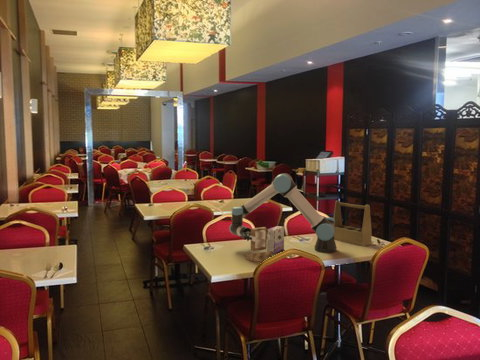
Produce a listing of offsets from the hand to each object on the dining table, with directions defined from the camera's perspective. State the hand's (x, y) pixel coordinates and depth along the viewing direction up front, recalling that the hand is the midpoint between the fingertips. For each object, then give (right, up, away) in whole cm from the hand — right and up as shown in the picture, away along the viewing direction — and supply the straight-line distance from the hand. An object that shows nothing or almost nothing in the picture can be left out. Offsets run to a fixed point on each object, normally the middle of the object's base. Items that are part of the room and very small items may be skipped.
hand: (262, 238), depth 284 cm
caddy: (+70, -10, +54) cm, 89 cm away
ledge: (-2, -14, +5) cm, 15 cm away
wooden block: (-2, -8, +4) cm, 9 cm away
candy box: (+10, -12, +25) cm, 30 cm away
